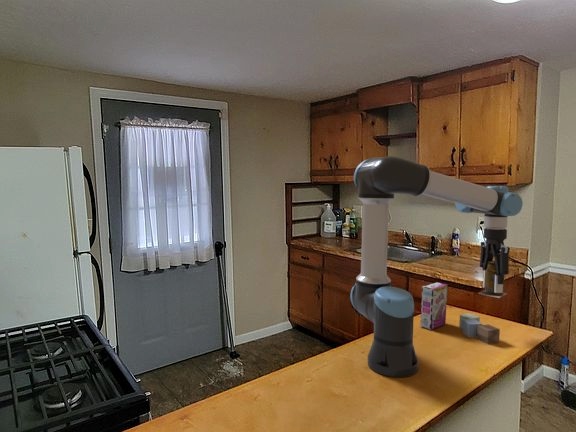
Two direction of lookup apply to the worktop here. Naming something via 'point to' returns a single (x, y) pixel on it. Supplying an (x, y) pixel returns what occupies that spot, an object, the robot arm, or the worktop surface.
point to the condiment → (491, 281)
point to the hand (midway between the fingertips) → (492, 289)
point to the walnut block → (488, 334)
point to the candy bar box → (433, 305)
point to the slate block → (470, 327)
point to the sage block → (467, 316)
